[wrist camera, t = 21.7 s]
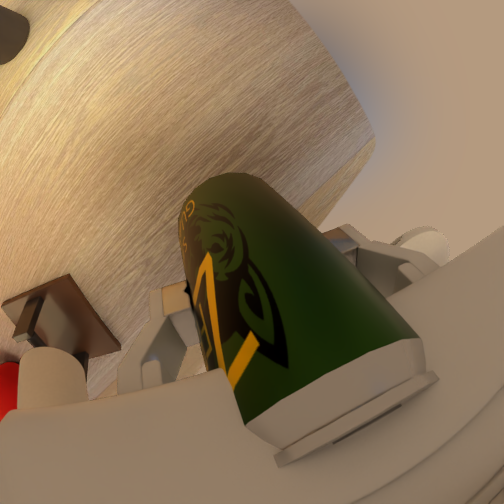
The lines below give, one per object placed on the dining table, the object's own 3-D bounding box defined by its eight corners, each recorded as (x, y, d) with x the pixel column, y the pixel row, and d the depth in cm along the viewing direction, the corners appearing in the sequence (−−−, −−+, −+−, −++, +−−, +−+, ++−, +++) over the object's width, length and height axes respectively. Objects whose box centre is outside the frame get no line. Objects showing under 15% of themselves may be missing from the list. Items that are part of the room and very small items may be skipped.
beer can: (276, 162, 14) (486, 332, 4) (276, 251, 17) (400, 431, 7) (168, 178, 12) (227, 467, 3) (186, 270, 15) (249, 497, 6)
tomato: (50, 394, 38) (46, 456, 26) (5, 383, 33) (-5, 441, 22) (35, 356, 32) (21, 430, 21) (-15, 343, 28) (-35, 409, 16)
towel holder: (95, 362, 31) (50, 383, 28) (55, 316, 26) (9, 342, 23) (140, 515, 14) (77, 526, 12) (73, 501, 9) (9, 507, 6)
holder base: (55, 362, 34) (49, 400, 28) (2, 302, 26) (-15, 340, 20) (121, 345, 36) (120, 387, 30) (69, 273, 28) (54, 316, 22)
